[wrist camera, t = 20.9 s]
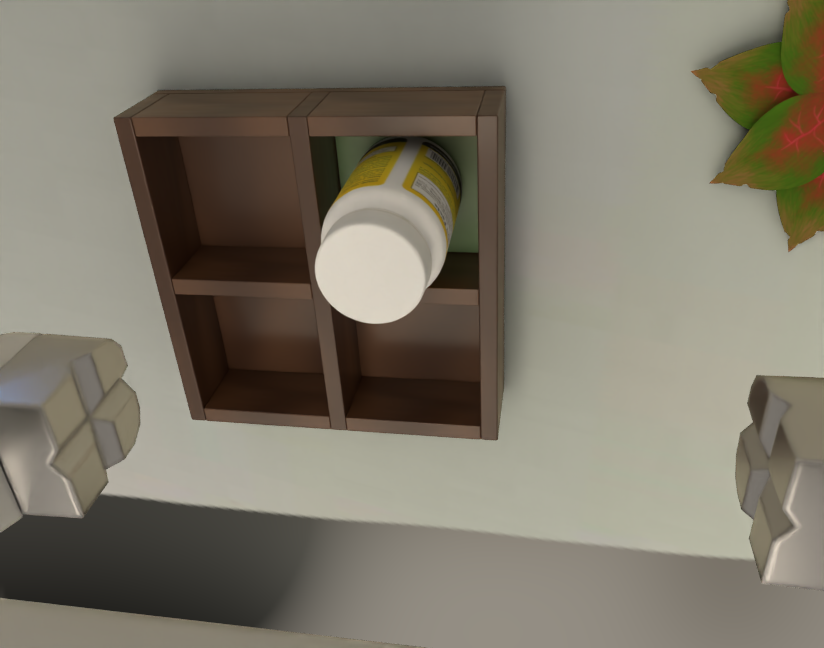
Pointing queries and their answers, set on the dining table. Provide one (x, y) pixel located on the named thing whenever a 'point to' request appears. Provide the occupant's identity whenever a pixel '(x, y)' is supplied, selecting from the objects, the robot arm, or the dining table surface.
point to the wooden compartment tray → (296, 253)
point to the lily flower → (779, 118)
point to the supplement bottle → (389, 230)
